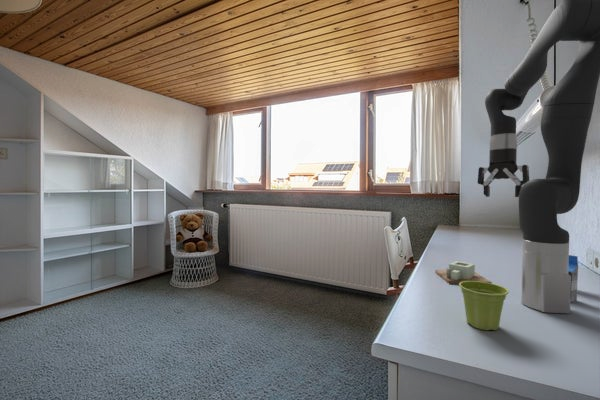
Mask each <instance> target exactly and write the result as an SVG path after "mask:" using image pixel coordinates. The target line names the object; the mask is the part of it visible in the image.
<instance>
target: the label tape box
mask: <svg viewBox="0 0 600 400" xmlns="http://www.w3.org/2000/svg"><path fill="white" fill-rule="evenodd" d="M578 260H579V259H578V256H577V255H571V254H569V265H568V274H569V275H570V276H571V293H570V303H574V302H576V301H577V299H578V275H579V274H578V273H579V261H578Z"/></svg>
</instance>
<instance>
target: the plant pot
mask: <svg viewBox="0 0 600 400" xmlns="http://www.w3.org/2000/svg"><path fill="white" fill-rule="evenodd" d="M458 285H459V287H460V288H461V289H460V290H461V293H462V297H463V303H464V304H463V305H464V309H465V316H466V317H465V318H466V323H467V324H469V325H470V326H472V327H473V328H475V329H479V330H482V331H483V330H484V331H489V330H493V331H497V330H498V329H499V326H500V322H501V315H502V312H503V311H502V310H503V307H504V302H505V300H506V299H507V298H506V297H507V295H508V294H509V292H510V291H509V290H508V289H507V288H506V287H503V285H502V286H501V285H499V284H496V283H487V282H481V281H463V282H460V283H459V284H458Z"/></svg>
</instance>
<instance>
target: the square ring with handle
mask: <svg viewBox="0 0 600 400" xmlns="http://www.w3.org/2000/svg"><path fill="white" fill-rule="evenodd" d="M475 264H476V263H470V262H469V263H468V262H464V261H463V262H462V261H457V260H456V261H453V262H450V263H449V264H448V268H450V269H452V271H451V279H454V280H459V279H461V278H463V279H470V278H471V277H473V276H474V275H475V273H476V271H475V269H476V268H475V267H476V265H475ZM462 265H465V266H462Z"/></svg>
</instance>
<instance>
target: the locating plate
mask: <svg viewBox="0 0 600 400" xmlns="http://www.w3.org/2000/svg"><path fill="white" fill-rule="evenodd" d="M462 266H465V265H462ZM451 271H452V269H450V268H449V267H448V268H446V269H445V270H444V269H443V270H442V269H435V273H436V275H437V276H438V277H440V278H441V279H442V280H443V281H445V282H446V283H449V285H459V283H460V282H463V281H481V282H487V283H492V281H491V280H488V279H487V278H485V277H483V276H482V275H480V274H478V273H477V272H475V275H474V276H473V277H471V278H470V279H463V278H461V279H459V280H454V279H451ZM492 284H493V283H492Z"/></svg>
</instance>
